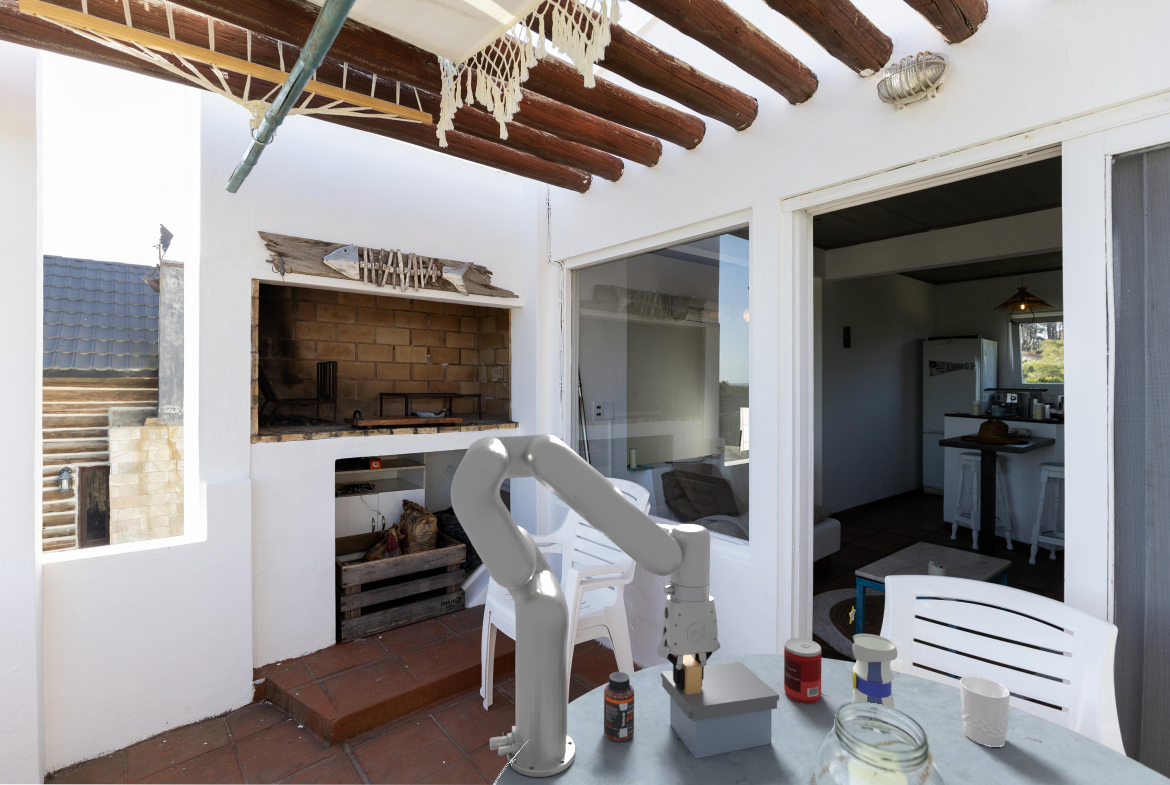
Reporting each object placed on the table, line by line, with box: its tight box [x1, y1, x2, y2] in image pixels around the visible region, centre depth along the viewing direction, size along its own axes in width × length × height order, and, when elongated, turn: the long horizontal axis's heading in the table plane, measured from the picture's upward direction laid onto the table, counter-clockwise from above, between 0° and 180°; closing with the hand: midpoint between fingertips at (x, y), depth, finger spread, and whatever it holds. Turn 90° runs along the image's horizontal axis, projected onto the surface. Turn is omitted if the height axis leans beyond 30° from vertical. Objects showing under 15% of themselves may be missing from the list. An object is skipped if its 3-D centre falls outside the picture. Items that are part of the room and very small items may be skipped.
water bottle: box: [849, 606, 898, 709], centre depth 108 cm, size 8×9×25 cm
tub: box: [669, 695, 773, 760], centre depth 111 cm, size 16×11×8 cm
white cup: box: [959, 675, 1011, 746], centre depth 110 cm, size 8×8×10 cm
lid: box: [660, 654, 780, 721], centre depth 111 cm, size 18×13×8 cm
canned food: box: [783, 637, 822, 704], centre depth 125 cm, size 8×8×11 cm
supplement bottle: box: [603, 671, 635, 742], centre depth 111 cm, size 6×6×11 cm
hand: (688, 684), depth 109 cm, fingers closed on lid, 3 cm apart
